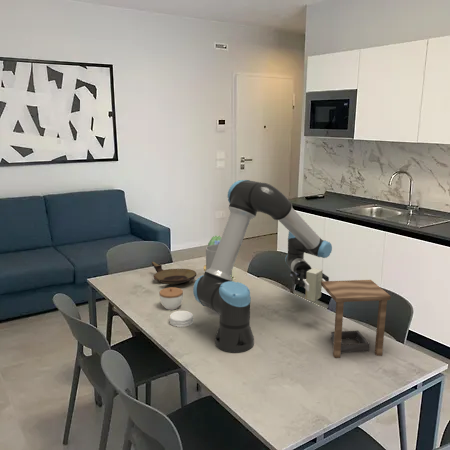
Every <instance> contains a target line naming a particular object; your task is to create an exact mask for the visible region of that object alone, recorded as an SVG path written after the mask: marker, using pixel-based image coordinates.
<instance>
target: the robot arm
mask: <svg viewBox="0 0 450 450" xmlns="http://www.w3.org/2000/svg"><path fill="white" fill-rule="evenodd" d="M227 198H228V199H227V201H228V203H229V204H228V210H229V215H228V219H227V220H226V221H227V222H226V224H225V227H224V229H223V231H222V235H221V236H220V237H221V240H220V243H219V246H218V248H217V251H216V254H215V257H214V259H213V262H212V265H211V268H209V269H207V270H206V271H204V274H202V275H200V276H199V277H198V278H196V280H195V282H194V284H193V288H192V289H193V290H192V291H193V296H194V299H195V300H196V301H197V303H200V305H202V306H203V307H206V308H208V309H211V310H212V311H214V312H216V313H218V314H219V326H218V327H217V331H216V334H215V336H214V344H216V345H215V346H216V347H217V348H218V349H220V350H221V351H223V352H226V351H227V353H243V352H247V351H250V349H252V348H253V347H254V346H255V336H254V333H253V331H252V330H253V329H252V327H251V324H250V323H251V300H252V299H251V298H252V297H251V292H250V289H249V287H248V286H247V285H246V284H244V283H242V282H238V281H237V282H236V281H234V280H233V277H232V278H231V276H230V274H231V272H232V273H233V268H234V266H235V262H236V261H237V258H238V256H239V252H240V249H241V247H242V244H243V240H244V238H245V235H246V233H247V230H248V227H249V225H250V221H251V220H253V219H255V218H256V216H257V213H263V214H265V215H268V216H269V217H271V218H272V219H273V220H275V221H278V222H280V224H281V225H282V226H284V228H286V229H287V231H288V235H287V236H288V237H287V254H286V255H285V258H284V260H285V264H286V265H287V267H288V268H289V269H290V270H291V271H290V273H289V274H290V275H289V277H290V278H291V279H292V281H293V283H294V285H295V286H297V285H298V286H299V287H300V288H304V289H305V291H306V290H307V291H309V284H308V283H307V281H306V273H307V271H308V270H310V269H312V268H313V267H311V265H310V264H309V262H307V261H306V260H305V259H304V257H305V256H304V255H305V254H308V255H312V256H315V257H317V258H323V259H327V258H328V257H330V256H331V253H332V251H333V246H332V243H331V242H330V241H327V240H323V238H321V236H319V235H318V234H317V232H316V231H315V230H313V228H312V227H311V226H310V225H309V224H308V223H307V222H306V221H305V220H304V219H303V217H302V216H301V215H300V214H299V213H298V212H297V211H296V210H295V209H294V208H293V203H292V202H291V201H290V199H288V197H287V196H286V195H285V194H284V193H282V192H281V191H280V190H279V189H278V188H276V187H275V186H273V185H271V184H269V183H266V182H259V181H254V180H250V179H244V180H243V179H241V180H237V181H235V182H234V183H232V185H230V187H229V189H228V192H227ZM322 281H330V277H329V276H328V275H326V274H325V273H324V272H322Z"/></svg>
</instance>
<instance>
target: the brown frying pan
mask: <svg viewBox="0 0 450 450" xmlns="http://www.w3.org/2000/svg"><path fill="white" fill-rule="evenodd" d="M151 265H152V267H153V268H154V269H155V271H156V272H155V273H154V274H153V279H155V280H157V281H158V282H159V283H163V284H167V285H179V284H183V283H187V282H188V281H191V280H194V279H195V278H196V276H197V272H196V271H195V270H193V269H189V268H169V269H163V268H162V264H158V263H156V262H155V261H151Z"/></svg>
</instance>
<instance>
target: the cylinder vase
mask: <svg viewBox="0 0 450 450" xmlns="http://www.w3.org/2000/svg"><path fill="white" fill-rule="evenodd" d="M218 246H219V244H216V245H210V246H208V245H207V246H205V265H206V270H207V269H209V268H211V265H212V262H213V259H214V257H215V254H216V251H217V248H218ZM230 275H231V277H232V278H233V271H232V272H231V274H230Z"/></svg>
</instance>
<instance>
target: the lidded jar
mask: <svg viewBox="0 0 450 450" xmlns="http://www.w3.org/2000/svg"><path fill="white" fill-rule="evenodd" d="M183 295H184V290H183V289H182V288H179V287H175V286H174V287H172V286H171V287H164V288H162V289H161V290H160V291H159V300H160V303H161V305H162V307H164V308H165V310H168V311H169V310H171V311H172V310H173V311H174V310H176V309H178V308H179V306H181V304H182V302H183Z"/></svg>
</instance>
